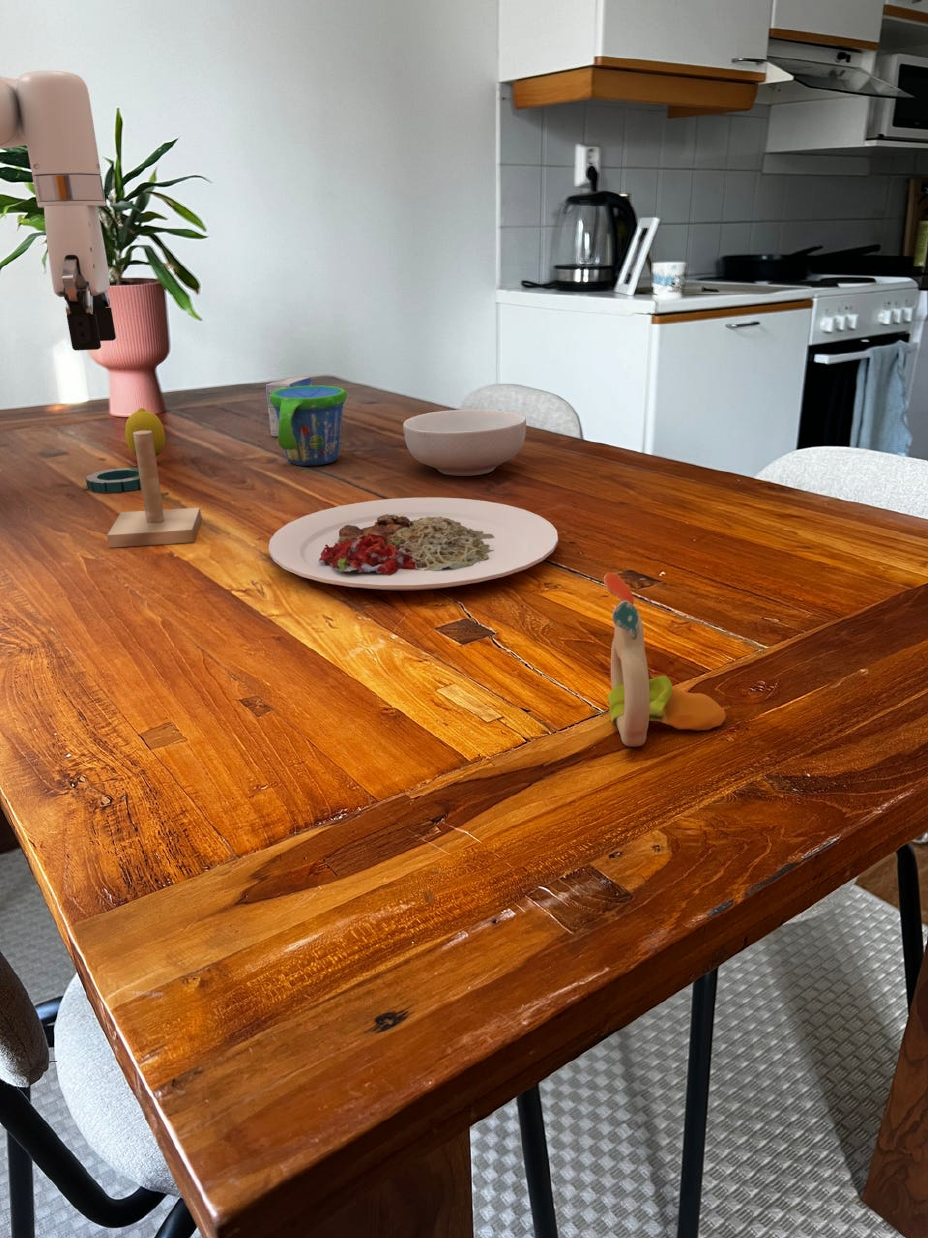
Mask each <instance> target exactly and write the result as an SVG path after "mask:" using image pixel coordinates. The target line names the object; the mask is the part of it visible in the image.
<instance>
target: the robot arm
mask: <svg viewBox="0 0 928 1238" xmlns="http://www.w3.org/2000/svg"><path fill="white" fill-rule="evenodd" d="M91 105H92V104H91V100H90V93H89V88H88V85H87V84H86V81H85V80H84V79H83V78H82V77H81V76H79V75H78V74H76V73H74V72H69V71H61V70H34V71H27V72H24V73H22V74H20V76H19V77H18V78H12V77H6V76H5V77H4V76H0V149H11V148H17V147H23V146H26V148H27V154H28V159H29V165H30V171H31V176H32V183H33V187H34V193H35V198H36V204H37V208H43V210H44V211H43V213H44V215H43V216H44V227H45V239H46V247H47V252H48V262H49V268H50V275H51V283H52V289H53V292H54V294H55V295H56V296H57V297H59V298H64V301H65V312H66V320H67V327H68V331H69V337H70V344H71V348H72V350H74V351H96V350H98V351H99V350H100V349H101V348H102V343H101V342H111V341H115V340H116V339H117V334H116V329H115V321H114V317H113V309H112V307H111V300H110V296H109V294H108V291H109V290H110V285H111V284H110V274H109V266H108V260H107V253H106V247H105V242H104V235H103V229H102V223H101V221H100V216H99V210H98V207H106V206H107V202H106V197H105V196H106V195H105V191H104V190H105V189H104V184H103V178H102V177H103V176H102V171H101V164H100V157H99V151H98V145H97V144H98V143H97V137H96V132H95V125H94V120H93V112H92V106H91Z"/></svg>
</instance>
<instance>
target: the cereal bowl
mask: <svg viewBox="0 0 928 1238" xmlns="http://www.w3.org/2000/svg"><path fill="white" fill-rule="evenodd" d="M402 429H403V434H404V435H403V437H404V442H405V446H406V448H407V450H408V452H409V453H410V455H411V456H412V457H413V458H414V459H415V460H416V461H418V462H419V463H420V464H423V465H426V467H430V468H433V469H436V470H437V471H438V472H439V473H441V474H443V475H448V476H454V477H455V476H456V477H467V476H468V477H471V476H480V475H485V474H488V473H491V472H494V470H496V467H498V466H500V465H502V464H504V463H506V462H508V461H510V460H512V459H513V458H514V457H515V456H517V455H518V453H519V452H520V451H521V449H522V448H523V446H524V443H525V439H526V433H527V419H526V417H525V416H523V414H520V413H517V412H512V411H506V410H496V409H452V410H451V409H450V410H440V411H433V412H427V413H422V414H419V415H416V416H415V415H414V416H412V417H409V418H408V419H406V420H405V421H404V422H403V424H402Z"/></svg>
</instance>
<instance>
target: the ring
mask: <svg viewBox="0 0 928 1238" xmlns="http://www.w3.org/2000/svg"><path fill="white" fill-rule="evenodd" d="M85 482H86V489H87V490H89V491H91V492H93V493H102V494H106V493H107V494H116V493H117V494H118V493H126V492H132V491H138V490H141V483H140V476H139V470H138V467H117V468H110V469H104V470H100V471H95V472H93V473H90V474H88V475H87V476H86V477H85Z"/></svg>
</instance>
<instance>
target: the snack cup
mask: <svg viewBox="0 0 928 1238" xmlns="http://www.w3.org/2000/svg"><path fill="white" fill-rule="evenodd" d="M347 396H348V395H347V392H346V390H345V389H344V388H342V387H339V386H332V385H312V386H297V387H289V388H283V389H279V390H276V391H273V392H272V393H271V395H270V401H271V404H273V406H274V408H275V410H276V413H277V419H278V422H279V430H278V437H277V443H278V446H279V447H280V448H281V449H283V450H284V452H285V456H286V458H287V462H288V463H291V464H294V465H295V466H301V467H304V466H305V467H314V466H315V467H316V466H324V465H329V464H332V463H334V462H336V460H338V459H339V457H340V451H341V441H342V439H341V438H342V424H343V416H344V415H343V414H344V412H343V411H344V404H345V402H346V400H347Z"/></svg>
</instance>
